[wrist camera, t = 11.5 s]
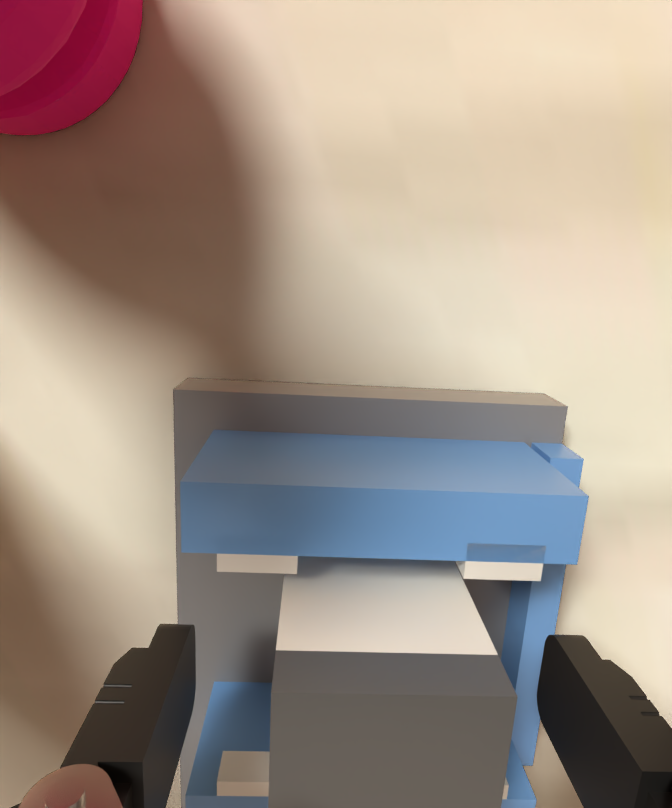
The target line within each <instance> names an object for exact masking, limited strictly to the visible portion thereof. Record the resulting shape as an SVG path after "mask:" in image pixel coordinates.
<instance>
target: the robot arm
mask: <svg viewBox="0 0 672 808" xmlns="http://www.w3.org/2000/svg"><path fill="white" fill-rule="evenodd" d="M195 690H196V645H195V626H194V625H186V624H160V625H159V626H158V628H157V630H156V633H155V635H154V637H153V639H152V641H151V644H150V646H149V648H131V649H130V650H129V651H128V652H127V653H126V654H125V655H124V656H122V657H121V658H120V659H119V660H118V661H117V662H116V663H115V664H114V665H113V667H112V669H111V671H110V673H109V674H108V676H107V678H106V680H105V682H104V686H103V688H101V690H100V692H99V694H98V696H97V698H96V700H95V704H93V705H92V707H91V709H90V711H89V713H88V715H87V717H86V719H85V721H84V723H83V725H82V727H81V728H80V730H79V732H78V734H77V736H76V738H75V740H74V742H73V744H72V746H71V748H70V750H69V752H68V754H67V755H66V757H65V759H64V761H63V763H62V765H61V767H60V769H58V770H56V771H54V772H52V773H50V774H48V775H47V776H45V777H44V778H42V779H41V780H40V781H39V782H37V783H36V784H35V785H34V786H33V787H32V788H31V789H30V790H29V791H28V793H27V794H26V795H25V797H24V798H23V800H22V802H21V803H20V804H18V805H15V806H13V807H11V808H165V807H166V804H167V800H168V797H169V793H170V790H171V786H172V782H173V779H174V775H175V772H176V768H177V765H178V761H179V758H180V754H181V751H182V747H183V744H184V740H185V737H186V733H187V730H188V726H189V723H190V719H191V716H192V711H193V706H194V700H195ZM537 706H538V712H539V716H540V719H541V722H542V724H543V726H544V728H545V730H546V732H547V734H548V736H549V738H550V740H551V742H552V744H553V746H554V748H555V750H556V752H557V754H558V756H559V758H560V760H561V762H562V764H563V766H564V769H565V771H566V773H567V775H568V777H569V779H570V781H571V783H572V785H573V787H574V789H575V791H576V793H577V795H578V797H579V799H580V801H581V803H582V805H583V807H584V808H672V729H671V727H670V726H669V725H668V723H667V722H666V721H665V719H664V718H663V717H662V716H659V712H658V710H657V709H656V708H655V706H654V705H653V704H652V703H651V701H650V700H647V696H646V695H645V693H644V692H643V691H642V690H641V688H640V687H639V686H638V684H637V683H636V682H635V681H634V679H633V678H632V677H631V676H630V675H629V674H627V673H626V672H625V671H623V670H622V669H621V668H620V667H618V666H617V665H616V664H614V663H613V662H612V661H611V660H602V659H601V658H600V656H599V655H598V653H597V652H596V651H595V649H594V648H593V647H592V645H591V644H590V642H589V641H588V640H587V639H586V638H585V637H584V636H581V635H548V636H547V638H546V640H545V645H544V651H543V657H542V663H541V669H540V675H539V681H538V688H537Z"/></svg>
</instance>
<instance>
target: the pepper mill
mask: <svg viewBox="0 0 672 808" xmlns="http://www.w3.org/2000/svg"><path fill="white" fill-rule="evenodd" d="M142 5H143V0H0V133H4V134H11V135H39V134H44V133H50V132H54V131H57V130H61V129H64V128H67V127H69V126H71V125H73V124H75V123H77V122H79V121H81V120H83V119H85V118H86V117H87V116H89V115H90V114H92V113H93V112H94V111H96V110H97V109H98V108H99V107H100V106H101V105H102V104H103V103H105V102H106V101H107V100H108V99H109V97H110V96H111V95H112V94H113V92H114V91H115V90H116V88H117V87H118V86H119V84H120V83H121V81H122V79H123V78H124V76H125V74H126V73H127V71H128V69H129V66H130V64H131V62H132V59H133V57H134V54H135V51H136V47H137V44H138V40H139V35H140V29H141V23H142Z"/></svg>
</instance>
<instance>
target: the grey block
mask: <svg viewBox="0 0 672 808" xmlns="http://www.w3.org/2000/svg"><path fill="white" fill-rule="evenodd" d="M517 698H518V697H517V694H516V692H515V690H514V688H513V686H512V684H511V682H510V679H509V677H508V675H507V673H506V671H505V669H504V667H503V664H502V662H501V660H500V658H499V656H498V654H497V652H496V649H495V647H494V645H493V643H492V641H491V639H490V637H489V634H488V632H487V630H486V628H485V626H484V624H483V622H482V619H481V617H480V615H479V613H478V611H477V609H476V607H475V604H474V602H473V600H472V598H471V596H470V594H469V592H468V589H467V587H466V585H465V583H464V581H463V579H462V577H461V574H460V572H459V570H458V568H457V566H456V564H455V562H454V561H444V560H411V559H378V558H346V557H313V556H298V565H297V574H284V581H283V590H282V599H281V608H280V617H279V626H278V635H277V644H276V653H275V662H274V671H273V679H272V688H271V715H270V755H269V795H268V808H501V804H502V797H503V791H504V784H505V777H506V771H507V764H508V757H509V751H510V744H511V737H512V731H513V724H514V718H515V711H516V704H517Z"/></svg>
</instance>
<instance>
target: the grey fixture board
mask: <svg viewBox="0 0 672 808" xmlns="http://www.w3.org/2000/svg"><path fill="white" fill-rule="evenodd" d="M173 400H174V453H175V505H176V558H177V611H178V624H186V625H194V626H195V645H196V690H195V700H194V706H193V711H192V716H191V719H190V723H189V726H188V730H187V733H186V737H185V740H184V744H183V747H182V751H181V754H180V768H181V808H268V795H269V755H270V715H271V688H272V679H273V671H274V662H275V653H276V644H277V635H278V626H279V617H280V608H281V599H282V590H283V581H284V574H297V565H298V556H313V557H346V558H378V559H411V560H444V561H454V562H455V564H456V566H457V568H458V570H459V572H460V574H461V577H462V579H463V581H464V583H465V585H466V587H467V589H468V592H469V594H470V596H471V598H472V600H473V602H474V604H475V607H476V609H477V611H478V613H479V615H480V617H481V619H482V622H483V624H484V626H485V628H486V630H487V632H488V634H489V637H490V639H491V641H492V643H493V645H494V647H495V649H496V652H497V654H498V656H499V658H500V660H501V662H502V664H503V667H504V669H505V671H506V673H507V675H508V677H509V679H510V682H511V684H512V686H513V688H514V690H515V692H516V694H517V697H518V698H517V704H516V711H515V718H514V724H513V731H512V737H511V744H510V751H509V757H508V764H507V771H506V777H505V784H504V791H503V797H502V804H501V808H535V806H536V797H535V795H534V792H533V790H532V787H531V785H530V783H529V780H528V778H527V775H526V773H525V770H524V768H523V766H533V760H534V754H535V748H536V742H537V736H538V730H539V724H540V716H539V712H538V706H537V688H538V681H539V675H540V669H541V663H542V657H543V651H544V645H545V640H546V638H547V636H548V635H554V634H555V628H556V622H557V616H558V610H559V604H560V598H561V592H562V586H563V580H564V574H565V568H566V564H574V565H577V562H578V556H579V550H580V544H581V538H582V532H583V527H584V521H585V515H586V509H587V503H588V498H589V496H588V495H587V494H585V493H584V492H583V491H582V490H581V489H580V488H579V484H580V478H581V472H582V466H583V460H584V459H583V458H581V457H580V456H578V455H577V454H576V453H574V452H573V451H571V450H570V449H569V448H567V447H566V446H564V445H563V444H562V440H563V434H564V427H565V421H566V415H567V408H568V406H566V405H564V404H562V403H560V402H559V401H557V400H555V399H553V398H551V397H549V396H548V395H546V394H540V393H517V392H494V391H472V390H449V389H426V388H403V387H381V386H358V385H335V384H313V383H290V382H267V381H245V380H222V379H199V378H187V379H185V380H184V381H183V382H182V383H181V384H179V385H178V386H177V387H176V388H175V389H173Z"/></svg>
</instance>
